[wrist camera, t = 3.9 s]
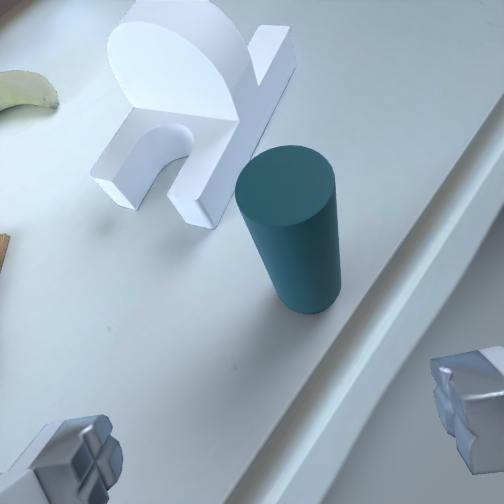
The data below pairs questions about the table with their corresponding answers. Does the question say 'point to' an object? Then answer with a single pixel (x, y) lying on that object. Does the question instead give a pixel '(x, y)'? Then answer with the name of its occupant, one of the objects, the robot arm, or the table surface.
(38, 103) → the fruit
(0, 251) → the brown flat square board
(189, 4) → the block with arch cutout
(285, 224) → the teal cylinder
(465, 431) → the robot arm
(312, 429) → the table surface
